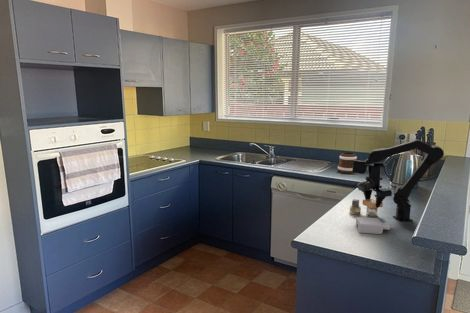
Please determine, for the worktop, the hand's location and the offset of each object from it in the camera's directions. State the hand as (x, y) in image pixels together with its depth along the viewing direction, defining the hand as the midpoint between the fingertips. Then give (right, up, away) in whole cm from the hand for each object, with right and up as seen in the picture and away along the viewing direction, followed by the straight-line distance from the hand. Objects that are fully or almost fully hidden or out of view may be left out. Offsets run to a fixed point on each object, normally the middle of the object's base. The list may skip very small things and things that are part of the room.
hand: (372, 205), depth 169 cm
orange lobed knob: (0, -5, +1) cm, 5 cm away
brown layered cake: (+21, +12, +101) cm, 104 cm away
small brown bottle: (-7, -4, +4) cm, 9 cm away
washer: (0, 0, 0) cm, 0 cm away
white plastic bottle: (-6, -9, -18) cm, 21 cm away
